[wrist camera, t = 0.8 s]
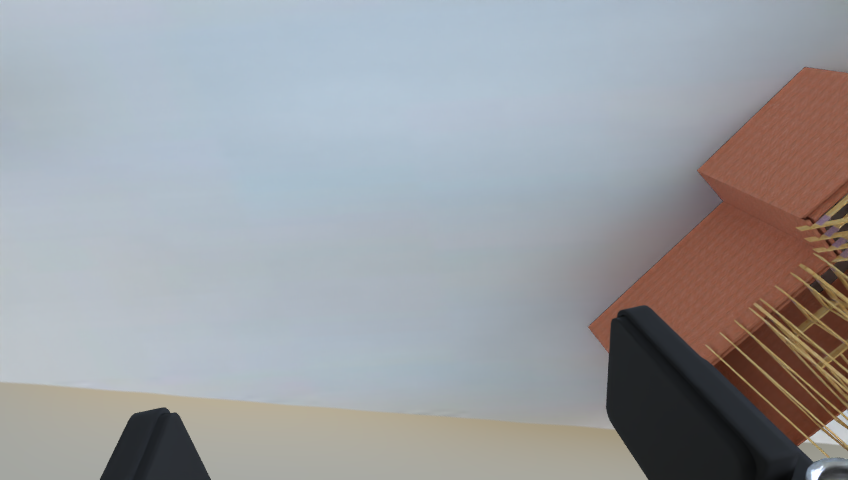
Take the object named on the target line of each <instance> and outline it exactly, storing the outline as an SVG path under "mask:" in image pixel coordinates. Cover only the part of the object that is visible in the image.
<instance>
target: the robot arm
mask: <svg viewBox="0 0 848 480" xmlns="http://www.w3.org/2000/svg"><path fill="white" fill-rule="evenodd" d="M606 409H607V414H608V417H609V419H610V421H611V423H612V425H613V426H614V428H615V429H616V431H617V433H618V434H619V436H620V437H621V439H622V440H623V441H624V443H625V445H626V446H627V448H628V449H629V451H630V452H631V454H632V455H633V457H634V458H635V460H636V461H637V463H638V464H639V466H640V467H641V469H642V470H643V472H644V474H645V475H646V477H647V478H648V480H848V459H844V458H824V459H821V460H818V461H816V462H813V461H812V460H811V459H810V458H809V457H808V456H806V454H804V453H803V452H802V451H801V450H800V449H799V448H798V447H797V446H796V445H795V444H794V443H793V442H792V441H791V440H790V439H789V438H788V437H787V436H786V435H785V434H784V433H783V432H782V431H781V430H780V429H779V428H777V427H776V426H775V425H774V424H773V423H772V422H771V421H770V420H769V419H768V418H767V417H766V416H765V415H764V414H763V413H762V412H761V411H760V410H759V409H758V408H757V407H756V406H755V405H754V404H753V403H751V402H750V401H749V400H748V399H747V398H746V397H745V396H744V395H743V394H742V393H741V392H740V391H739V390H738V389H737V388H736V387H735V386H734V385H733V384H732V383H731V382H730V381H729V380H728V379H727V378H726V377H724V376H723V375H722V374H721V373H720V372H719V371H718V370H717V369H716V368H715V367H714V366H713V365H712V364H711V363H710V362H708V361H707V360H706V359H704V358H702V357H701V356H700V355H699V354H698V353H696V352H695V351H694V350H693V349H692V348H691V347H690V346H689V345H688V344H687V343H686V342H685V341H684V340H683V339H682V338H681V337H680V336H679V335H678V334H677V333H676V332H675V331H674V330H673V329H672V328H671V327H670V326H669V325H668V324H667V323H666V322H665V321H664V320H662V319H661V318H660V317H659V316H658V315H657V314H656V313H655V312H654V311H653V310H652V309H651V308H650V307H648V306H646V305H642V306H637V307H632V308H628V309H623V310H620V311H619V312H618V314H617V318H614V319H612V321H611V328H610V346H609V364H608V382H607V400H606ZM100 480H211V479H210V477H209V475H208V473H207V471H206V469H205V467H204V465H203V463H202V461H201V459H200V457H199V455H198V453H197V451H196V449H195V446H194V444H193V442H192V440H191V438H190V436H189V434H188V432H187V430H186V428H185V426H184V424H183V422H182V420H181V418H180V416H179V415H178V414H177V413H170V411H169V410H168V409H166V408H158V409H153V410H149V411H144V412H139V413H135V414H133V415H132V416H131V418H130V419H129V421H128V423H127V425H126V427H125V429H124V431H123V433H122V435H121V437H120V439H119V441H118V443H117V446H116V447H115V450H114V452H113V454H112V456H111V458H110V460H109V462H108V464H107V466H106V468H105V470H104V472H103V474H102V476H101V478H100Z"/></svg>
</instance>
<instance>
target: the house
mask: <svg viewBox="0 0 848 480" xmlns="http://www.w3.org/2000/svg"><path fill="white" fill-rule="evenodd" d="M697 171H698V172H699V173H700V175H701V176H702V177H703V178H704V179H705V180H706V182H707V183H708V184H709V185H710V186H711V188H712V189H713V190H714V191H715V192H716V193H717V195H718V196H719V197H720V198H721V199H722V200H723V202H722V203H721V204H720V205H719V206H718V207H716V208H715V209H714V210H713V211H712V212H711V213H710V214H709V215H708V216H707V217H706V218H705V219H704V220H703V221H701V222H700V223H699V224H698V225H697V226H696V227H695V228H694V229H693V230H692V231H691V232H690V233H689V234H687V235H686V236H685V237H684V238H683V239H682V240H681V241H680V242H679V243H678V244H677V245H676V246H675V247H673V248H672V249H671V250H670V251H669V252H668V253H667V254H666V255H665V256H664V257H663V258H662V259H661V260H659V261H658V262H657V263H656V264H655V265H654V266H653V267H652V268H651V269H650V270H649V271H648V272H647V273H645V274H644V275H643V276H642V277H641V278H640V279H639V280H638V281H637V282H636V283H635V284H634V285H633V286H631V287H630V288H629V289H628V290H627V291H626V292H625V293H624V294H623V295H622V296H621V297H620V298H619V299H617V300H616V301H615V302H614V303H613V304H612V305H611V306H610V307H609V308H608V309H607V310H606V311H605V312H603V313H602V314H601V315H600V316H599V317H598V318H597V319H596V320H595V321H594V322H593V323H592V324H591V325H589V326H588V328H589V329H590V330H591V331H592V333H593V334H594V335H595V337H596V338H597V339H598V340H599V342H600V343H601V344H602V345H603V347H604V348H605V349H606V351H607V352H608V353H609V346H610V328H611V321H612V319H614V318H617V314H618V312H619V311H620V310H623V309H628V308H632V307H637V306H642V305H646V306H648V307H650V308H651V309H652V310H653V311H654V312H655V313H656V314H657V315H658V316H659V317H660V318H661V319H662V320H664V321H665V322H666V323H667V324H668V325H669V326H670V327H671V328H672V329H673V330H674V331H675V332H676V333H677V334H678V335H679V336H680V337H681V338H682V339H683V340H684V341H685V342H686V343H687V344H688V345H689V346H690V347H691V348H692V349H693V350H694V351H695V352H696V353H698V354H699V355H700V356H701V357H702V358H704V359H706V360H707V361H708V362H710V363H711V364H712V365H713V366H714V367H715V368H716V369H717V370H718V371H719V372H720V373H721V374H722V375H723V376H724V377H726V378H727V379H728V380H729V381H730V382H731V383H732V384H733V385H734V386H735V387H736V388H737V389H738V390H739V391H740V392H741V393H742V394H743V395H744V396H745V397H746V398H747V399H748V400H749V401H750V402H751V403H753V404H754V405H755V406H756V407H757V408H758V409H759V410H760V411H761V412H762V413H763V414H764V415H765V416H766V417H767V418H768V419H769V420H770V421H771V422H772V423H773V424H774V425H775V426H776V427H777V428H779V429H780V430H781V431H782V432H783V433H784V434H785V435H786V436H787V437H788V438H789V439H790V440H791V441H792V442H793V443H794V444H795V445H796V446H799V445H800V444H801V443H803V442H804V441H805V440H807V439H808V440H809V441H810V442H811V443H812V444H814V445H815V446H816V447H817V448H818V449H819V450H820V451H821V452H822V453H823V454H825V455H826V456H827V457H828V458H830V457H829V456H828V455H827V454H826V453H825V452H824V451H823V450H822V449H821V448H819V447H818V446H817V445H816V444H815V443H814V442H813V441H812V440H811V439H810V438H809V437H811V436H812V435H813V434H815V433H816V432H817V431H819V430H820V429H821V430H823V431H824V432H825V433H826V434H827V435H829V436H830V437H831V438H832V439H834V440H835V441H836V442H837V443H839V444H840V445H841V446H842V447H844V448H845V449H846V450H847V451H848V445H847V444H845V443H844V442H843V441H842V440H841V439H840V438H839V437H838V436H836V435H835V434H834V433H833V432H832V431H831V430H830V429H829V428H828V427H826V426H825V425H827V424H828V423H829V422H831V421H832V420H833V419H834V420H835V421H837V422H838V423H840V424H841V425H842V426H844V427H845V428H847V429H848V426H847V425H846V424H845V423H844V422H842V421H841V420H840V419H839V418H837V416H838V415H840V414H841V415H842V416H843V417H845V418H846V419H847V420H848V417H846V416H845V415H844V414H843V413H842V412H844V411H845V410H846V409H847V410H848V270H847V271H846V272H844V273H842V272H841V271H840V270H839V269H837V268H836V267H835V266H833V265H834V264H836V263H837V262H840V261H847V260H848V243H846V242H847V240H848V231H843V232H838V231H839V229H840V228H841V227H842V226H843V225H844V224H846V223H848V213H847V214H846V215H845V216H844V217H843V218H842V219H837V220H831V221H829V220H830V219H831V217H832V216H833V215H834V214H836V213H837V212H838V211H839V210H840V209H841V208H842V207H844V206H845V205H846V204H847V203H848V195H847V196H845V195H846V194H847V193H848V73H845V72H837V71H830V70H823V69H815V68H808V67H804V68H803V69H802V70H801V71H800V72H799V73H798V74H797V75H796V76H795V77H794V78H793V79H792V80H791V81H790V82H789V83H788V84H786V85H785V86H784V87H783V88H782V89H781V90H780V91H779V92H778V93H777V94H776V95H775V96H774V97H773V98H772V99H771V100H770V101H769V102H768V103H767V104H766V105H765V106H764V107H763V108H762V109H760V110H759V111H758V112H757V113H756V114H755V115H754V116H753V117H752V118H751V119H750V120H749V121H748V122H747V123H746V124H745V125H744V126H743V127H742V128H741V129H740V130H739V131H738V132H737V133H736V134H734V135H733V136H732V137H731V138H730V139H729V140H728V141H727V142H726V143H725V144H724V145H723V146H722V147H721V148H720V149H719V150H718V151H717V152H716V153H715V154H714V155H713V156H712V157H711V158H710V159H708V160H707V161H706V162H705V163H704V164H703V165H702V166H701V167H700V168H699V169H698V170H697ZM844 196H845V197H844ZM843 197H844V198H843ZM841 198H843V199H842V200H841V201H840V202H839V203H837V202H838V201H839V200H840V199H841ZM836 203H837V204H836ZM835 204H836V205H835ZM833 205H835V206H834V207H833V208H832V209H831V210H829V209H830V208H831V207H832V206H833ZM828 210H829V211H828ZM827 211H828V212H827ZM825 212H827V213H826V214H825V215H824V216H822V215H823V214H824V213H825ZM821 216H822V217H821ZM820 217H821V218H820ZM818 218H820V219H818ZM832 225H834V226H832ZM827 226H832V227H831V228H830V229H829V230H828V231H827V230H826V229H825V227H827ZM837 237H840V238H839V239H838V240H837V241H836V242H835V241H834V239H833V238H837ZM845 243H846V244H845ZM846 248H847V249H846ZM841 249H846V250H845V251H843V252H842V250H841ZM830 268H831V269H832V271H833V272H834V273H835V274H836V276H837V277H838V278H837V279H836V280H835V281H834V282H832V283H831V284H829V283H827V282H826V281H825V280H824V279H822V278H821V277H820V276H821V275H823V274H824V273H825V272H826V271H827V270H828V269H830ZM815 280H816V281H817V282H818V283H819V284H820V285H821V287H822V288H823V289H824V290H823V291H822V292H820V293H819V292H817V291H816V290H815V289H814V288H812V287H811V286H810V285H811V284H812V283H813V282H814V281H815ZM837 419H838V420H837ZM823 427H825V428H826V429H827V430H828V431H829V432H830V433H832V434H833V435H834V436H835V437H836V438H837V439H838V440H839V441H840V442H841V443H842V444H841V443H840V442H839V441H838V440H837V439H835V438H834V437H833V436H832V435H831V434H830V433H829V432H827V431H826V430H825V429H824V428H823Z"/></svg>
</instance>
